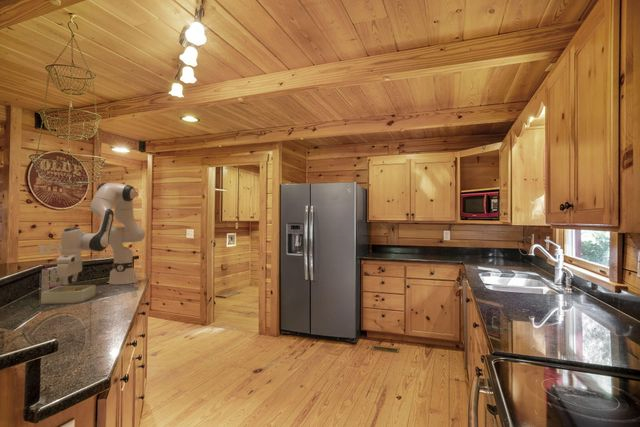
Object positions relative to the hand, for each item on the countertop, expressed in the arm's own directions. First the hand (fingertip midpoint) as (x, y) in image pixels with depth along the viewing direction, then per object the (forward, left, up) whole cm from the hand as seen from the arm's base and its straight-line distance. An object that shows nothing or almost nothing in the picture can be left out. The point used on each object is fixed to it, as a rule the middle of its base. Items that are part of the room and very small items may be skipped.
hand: (70, 283), depth 179 cm
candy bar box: (-9, -12, -9) cm, 18 cm away
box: (+1, 0, -9) cm, 9 cm away
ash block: (0, 0, -8) cm, 8 cm away
